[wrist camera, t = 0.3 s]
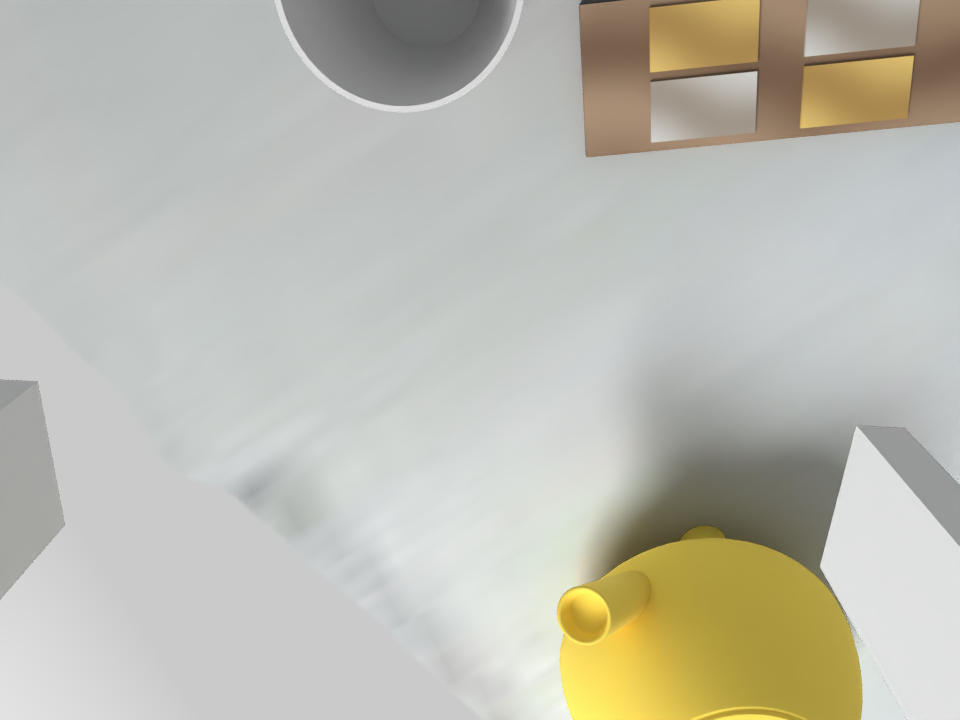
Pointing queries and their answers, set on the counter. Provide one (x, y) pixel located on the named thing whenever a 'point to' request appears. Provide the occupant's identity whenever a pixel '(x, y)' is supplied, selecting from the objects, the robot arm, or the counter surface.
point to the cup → (400, 46)
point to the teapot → (708, 638)
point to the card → (763, 70)
